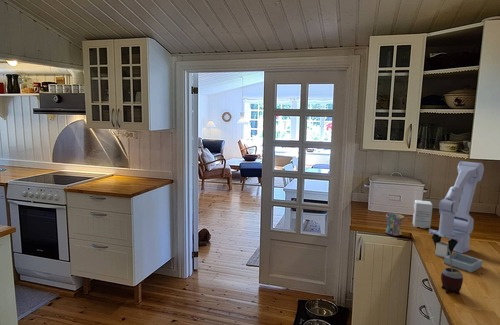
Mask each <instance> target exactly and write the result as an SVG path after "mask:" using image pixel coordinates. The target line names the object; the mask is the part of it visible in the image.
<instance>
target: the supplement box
mask: <svg viewBox="0 0 500 325" xmlns="http://www.w3.org/2000/svg"><path fill="white" fill-rule="evenodd" d="M432 215H433V203H432V202H431V201H429V200H420V199H415V200H414V204H413V212H412V225H413V227H414V228H417V227H420V228H419V229H426V228H429V229H428V230H430V229H431V226H432Z"/></svg>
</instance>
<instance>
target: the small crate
mask: <svg viewBox="0 0 500 325" xmlns="http://www.w3.org/2000/svg"><path fill="white" fill-rule="evenodd" d="M447 247H448V248H449V245H448V242H446V241H442V240H441V241H440V242H438V243H436V249H435V252H434V255H435V256H437V257H439V258H441V259H444V258H445V257H446V256H448V249H447Z"/></svg>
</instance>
